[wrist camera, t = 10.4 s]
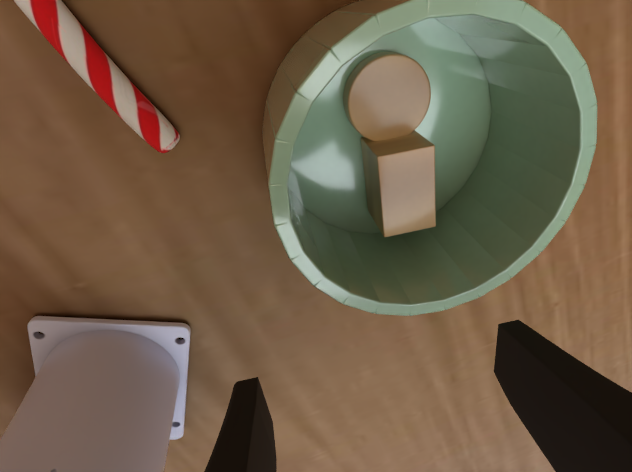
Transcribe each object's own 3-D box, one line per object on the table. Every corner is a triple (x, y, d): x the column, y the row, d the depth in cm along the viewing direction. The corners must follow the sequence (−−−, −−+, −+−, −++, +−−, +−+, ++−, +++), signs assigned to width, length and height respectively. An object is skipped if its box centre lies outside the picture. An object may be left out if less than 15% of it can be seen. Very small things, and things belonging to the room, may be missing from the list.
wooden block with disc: (425, 198, 21) (449, 224, 18) (356, 213, 21) (370, 240, 18) (421, 43, 17) (450, 50, 15) (337, 59, 17) (352, 69, 15)
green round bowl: (449, 245, 23) (514, 322, 18) (248, 225, 21) (250, 307, 15) (534, 26, 18) (664, 36, 13) (282, -35, 16) (303, -56, 10)
